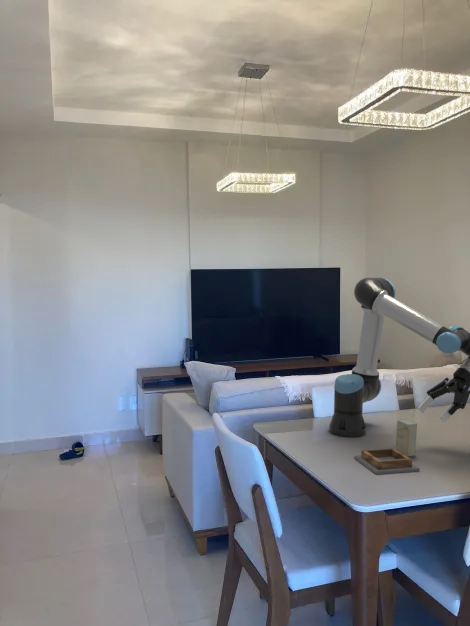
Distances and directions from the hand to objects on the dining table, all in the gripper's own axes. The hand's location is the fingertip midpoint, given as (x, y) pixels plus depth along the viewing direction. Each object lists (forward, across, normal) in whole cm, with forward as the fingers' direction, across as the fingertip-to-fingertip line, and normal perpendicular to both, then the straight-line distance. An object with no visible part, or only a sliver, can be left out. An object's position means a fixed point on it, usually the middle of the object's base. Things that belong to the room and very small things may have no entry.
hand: (430, 415), depth 200 cm
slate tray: (+26, -8, +6) cm, 28 cm away
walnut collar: (+26, -8, +6) cm, 28 cm away
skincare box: (+17, 0, -3) cm, 17 cm away
